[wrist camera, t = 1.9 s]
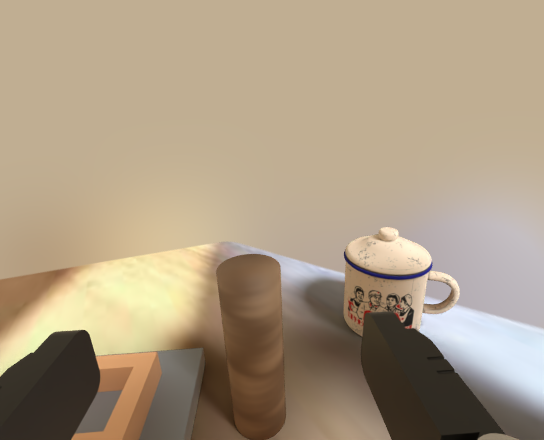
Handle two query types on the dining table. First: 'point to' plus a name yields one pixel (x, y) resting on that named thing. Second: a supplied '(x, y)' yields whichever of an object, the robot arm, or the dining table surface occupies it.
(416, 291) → the teacup with lid
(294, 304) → the dining table surface
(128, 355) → the collar base
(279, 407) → the walnut peg
